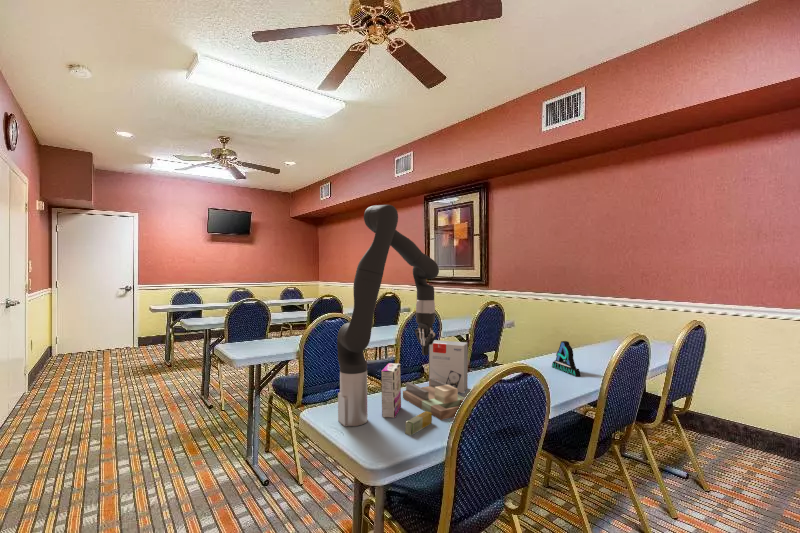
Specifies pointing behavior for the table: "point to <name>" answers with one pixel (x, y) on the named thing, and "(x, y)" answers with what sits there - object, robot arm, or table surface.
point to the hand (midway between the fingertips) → (425, 354)
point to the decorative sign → (567, 355)
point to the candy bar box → (391, 390)
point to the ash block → (446, 394)
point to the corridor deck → (431, 400)
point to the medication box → (418, 423)
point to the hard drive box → (449, 363)
